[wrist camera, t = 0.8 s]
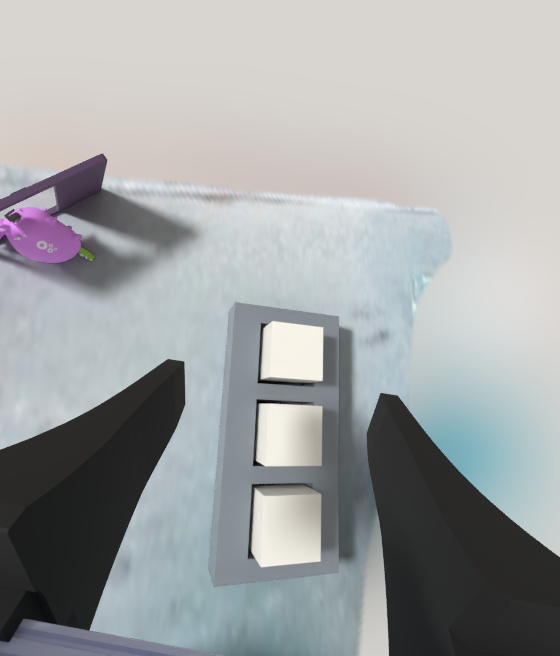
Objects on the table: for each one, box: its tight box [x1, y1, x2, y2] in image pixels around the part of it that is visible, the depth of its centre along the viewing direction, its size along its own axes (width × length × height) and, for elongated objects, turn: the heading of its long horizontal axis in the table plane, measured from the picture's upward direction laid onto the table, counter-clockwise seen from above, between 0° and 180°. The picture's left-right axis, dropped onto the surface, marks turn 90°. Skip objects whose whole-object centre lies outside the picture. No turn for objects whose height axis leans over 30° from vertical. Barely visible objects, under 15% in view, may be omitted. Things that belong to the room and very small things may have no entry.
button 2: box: [258, 321, 323, 384], centre depth 25 cm, size 4×4×3 cm
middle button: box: [254, 404, 322, 466], centre depth 24 cm, size 4×4×3 cm
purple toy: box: [0, 154, 107, 263], centre depth 22 cm, size 7×5×9 cm
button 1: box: [249, 484, 321, 567], centre depth 22 cm, size 4×4×3 cm
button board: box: [209, 302, 339, 587], centre depth 25 cm, size 18×8×2 cm, turn 176°
